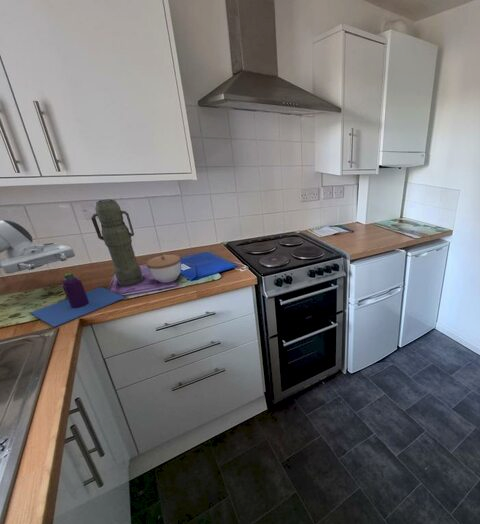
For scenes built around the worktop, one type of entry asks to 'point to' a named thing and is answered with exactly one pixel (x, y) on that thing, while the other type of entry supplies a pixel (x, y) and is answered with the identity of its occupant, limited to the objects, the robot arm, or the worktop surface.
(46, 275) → the worktop surface
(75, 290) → the purple bottle
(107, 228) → the thermos
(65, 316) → the napkin
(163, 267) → the lidded bowl
